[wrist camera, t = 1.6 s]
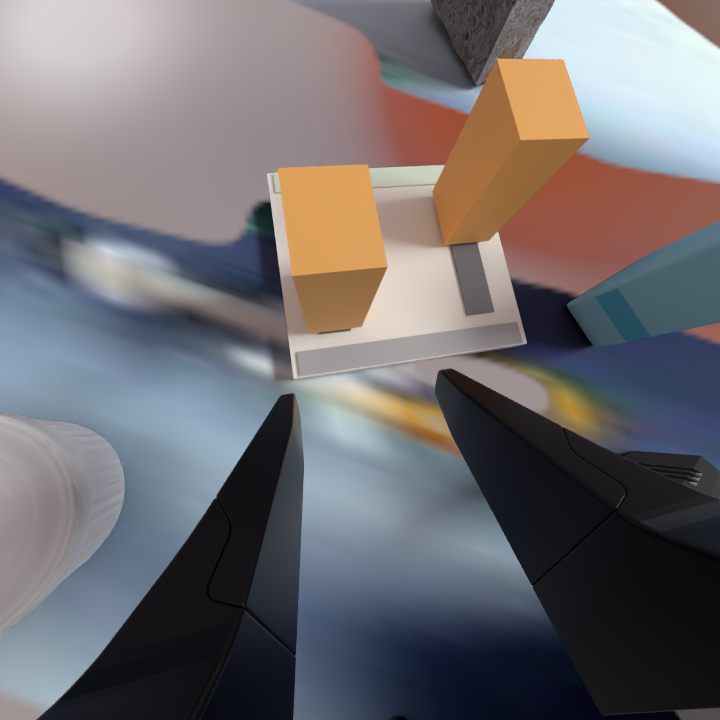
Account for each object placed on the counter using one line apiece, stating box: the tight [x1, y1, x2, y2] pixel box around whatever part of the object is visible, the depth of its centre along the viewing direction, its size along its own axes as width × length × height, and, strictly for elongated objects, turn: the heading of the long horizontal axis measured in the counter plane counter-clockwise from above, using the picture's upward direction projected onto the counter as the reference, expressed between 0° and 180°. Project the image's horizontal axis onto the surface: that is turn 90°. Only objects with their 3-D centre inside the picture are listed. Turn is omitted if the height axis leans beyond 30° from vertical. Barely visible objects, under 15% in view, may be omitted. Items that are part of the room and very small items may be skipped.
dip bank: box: [267, 165, 527, 380], centre depth 23 cm, size 17×19×1 cm
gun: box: [624, 451, 720, 499], centre depth 20 cm, size 3×16×10 cm, turn 94°
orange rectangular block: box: [278, 164, 388, 334], centre depth 16 cm, size 5×4×9 cm
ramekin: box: [0, 412, 125, 634], centre depth 15 cm, size 11×11×5 cm
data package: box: [567, 221, 720, 347], centre depth 20 cm, size 12×4×12 cm, turn 120°
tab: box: [432, 59, 589, 245], centre depth 19 cm, size 5×4×9 cm
